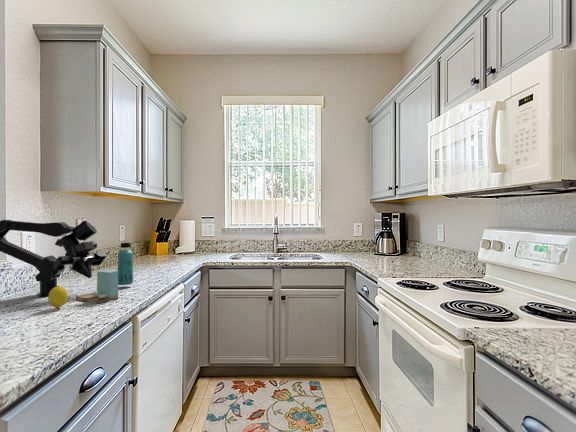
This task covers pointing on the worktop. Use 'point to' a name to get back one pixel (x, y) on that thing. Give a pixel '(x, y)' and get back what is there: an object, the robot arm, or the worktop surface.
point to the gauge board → (95, 298)
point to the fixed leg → (110, 284)
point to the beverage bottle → (125, 265)
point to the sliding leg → (100, 283)
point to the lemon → (57, 297)
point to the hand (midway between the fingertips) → (90, 277)
